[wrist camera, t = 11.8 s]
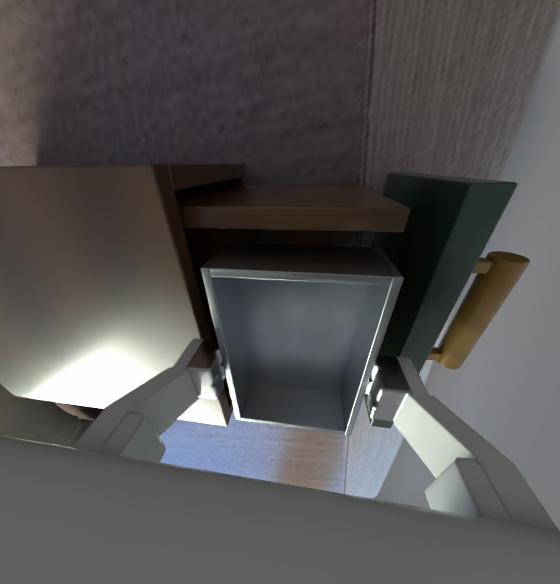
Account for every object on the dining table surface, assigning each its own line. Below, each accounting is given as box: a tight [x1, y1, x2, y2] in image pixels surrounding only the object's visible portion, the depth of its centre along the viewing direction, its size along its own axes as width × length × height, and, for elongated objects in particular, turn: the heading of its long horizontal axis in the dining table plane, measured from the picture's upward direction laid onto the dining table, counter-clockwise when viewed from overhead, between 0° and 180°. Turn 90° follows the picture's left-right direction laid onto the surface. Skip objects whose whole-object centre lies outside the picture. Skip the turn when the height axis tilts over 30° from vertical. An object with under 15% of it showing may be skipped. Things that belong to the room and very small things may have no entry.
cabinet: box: [0, 163, 247, 426], centre depth 15 cm, size 17×15×10 cm
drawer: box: [174, 172, 530, 428], centre depth 13 cm, size 20×13×8 cm
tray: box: [201, 243, 404, 435], centre depth 9 cm, size 6×9×2 cm, turn 1°
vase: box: [0, 384, 93, 447], centre depth 29 cm, size 22×22×28 cm
